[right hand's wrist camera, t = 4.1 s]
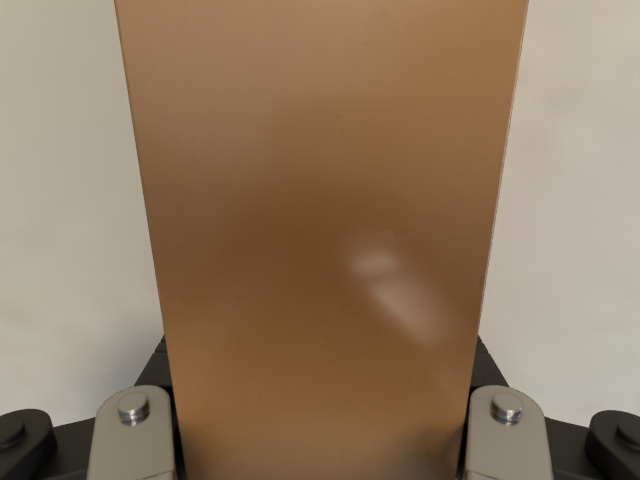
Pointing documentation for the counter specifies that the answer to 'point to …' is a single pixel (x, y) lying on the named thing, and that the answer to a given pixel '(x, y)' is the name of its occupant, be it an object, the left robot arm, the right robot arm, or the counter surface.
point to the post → (321, 222)
